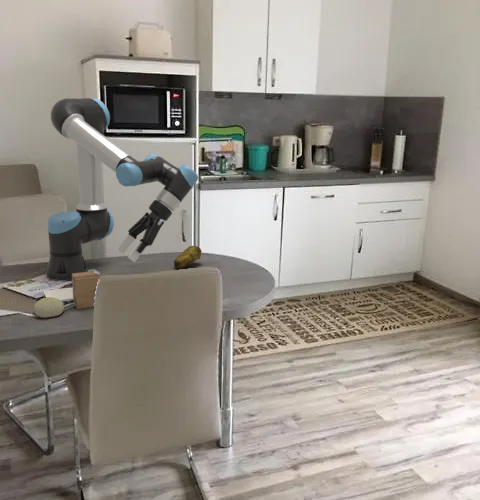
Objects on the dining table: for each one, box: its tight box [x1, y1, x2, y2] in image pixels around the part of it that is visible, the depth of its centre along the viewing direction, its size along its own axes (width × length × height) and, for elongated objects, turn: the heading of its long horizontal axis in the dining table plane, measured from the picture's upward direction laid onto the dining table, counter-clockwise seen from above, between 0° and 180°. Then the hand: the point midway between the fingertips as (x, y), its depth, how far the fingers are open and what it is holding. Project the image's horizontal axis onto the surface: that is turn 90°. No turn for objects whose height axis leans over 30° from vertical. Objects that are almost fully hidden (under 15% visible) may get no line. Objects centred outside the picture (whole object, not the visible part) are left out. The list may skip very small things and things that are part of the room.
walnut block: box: [71, 270, 99, 310], centre depth 185 cm, size 7×7×10 cm
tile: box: [43, 286, 73, 301], centre depth 191 cm, size 11×11×1 cm
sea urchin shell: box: [32, 297, 65, 318], centre depth 177 cm, size 9×8×8 cm
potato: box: [173, 245, 202, 269], centre depth 227 cm, size 8×13×8 cm, turn 120°
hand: (125, 255), depth 188 cm, fingers open, 13 cm apart
